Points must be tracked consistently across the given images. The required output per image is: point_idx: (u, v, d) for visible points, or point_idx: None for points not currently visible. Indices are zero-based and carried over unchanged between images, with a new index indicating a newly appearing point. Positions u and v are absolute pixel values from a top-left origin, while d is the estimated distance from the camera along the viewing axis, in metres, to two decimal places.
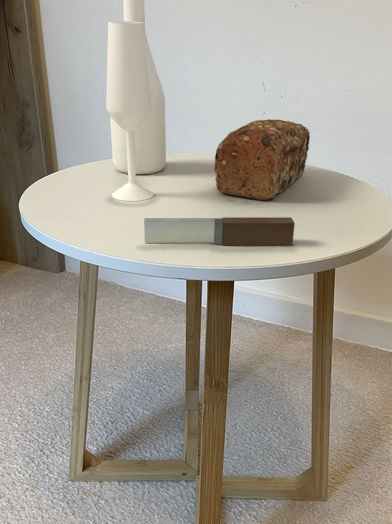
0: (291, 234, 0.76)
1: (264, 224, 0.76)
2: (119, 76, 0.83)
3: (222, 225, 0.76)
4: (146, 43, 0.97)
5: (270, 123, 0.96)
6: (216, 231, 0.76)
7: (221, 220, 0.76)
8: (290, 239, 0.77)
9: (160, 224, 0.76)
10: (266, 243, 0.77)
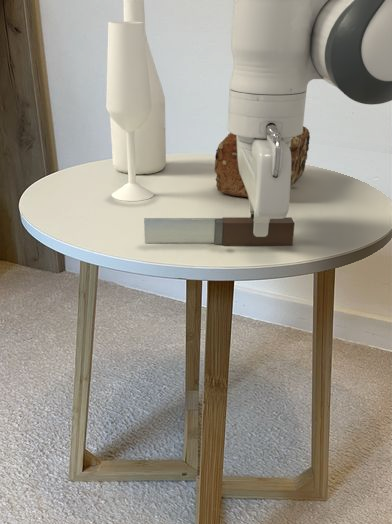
0: (291, 234, 0.76)
1: None
2: (119, 76, 0.83)
3: (222, 225, 0.76)
4: (146, 43, 0.97)
5: None
6: (216, 231, 0.76)
7: (221, 220, 0.76)
8: (290, 239, 0.77)
9: (160, 224, 0.76)
10: (266, 243, 0.77)
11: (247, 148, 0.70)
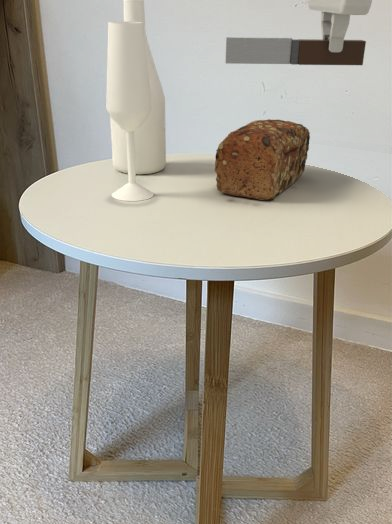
0: (362, 53, 0.82)
1: None
2: (119, 76, 0.83)
3: (299, 43, 0.82)
4: (146, 43, 0.97)
5: (270, 123, 0.96)
6: (293, 50, 0.82)
7: (297, 39, 0.82)
8: (361, 58, 0.83)
9: (241, 43, 0.82)
10: (338, 63, 0.83)
11: None
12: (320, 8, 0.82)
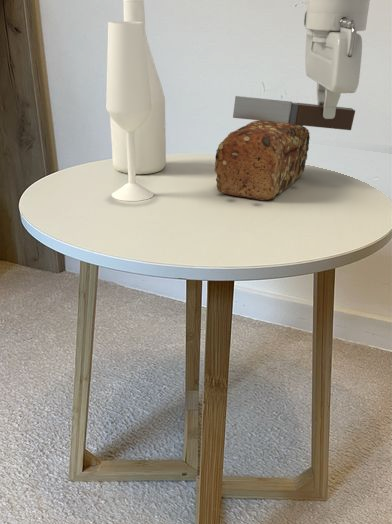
0: (351, 120, 0.95)
1: None
2: (119, 76, 0.83)
3: (297, 107, 0.94)
4: (146, 43, 0.97)
5: (270, 123, 0.96)
6: (292, 112, 0.94)
7: (297, 103, 0.94)
8: (350, 124, 0.95)
9: (248, 102, 0.94)
10: (330, 126, 0.95)
11: (322, 41, 0.88)
12: (316, 80, 0.94)
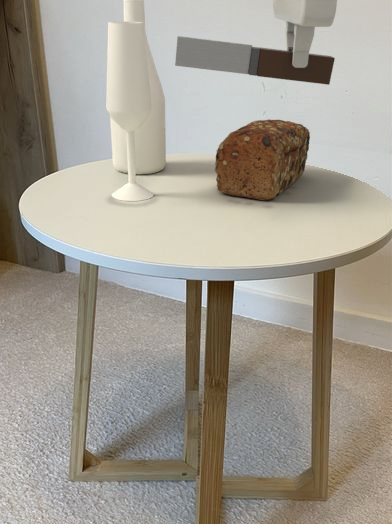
0: (329, 71, 0.73)
1: None
2: (119, 76, 0.83)
3: (259, 52, 0.72)
4: (146, 43, 0.97)
5: (270, 123, 0.96)
6: (252, 59, 0.72)
7: (258, 47, 0.72)
8: (328, 77, 0.73)
9: (194, 44, 0.71)
10: (302, 79, 0.73)
11: None
12: (283, 17, 0.72)
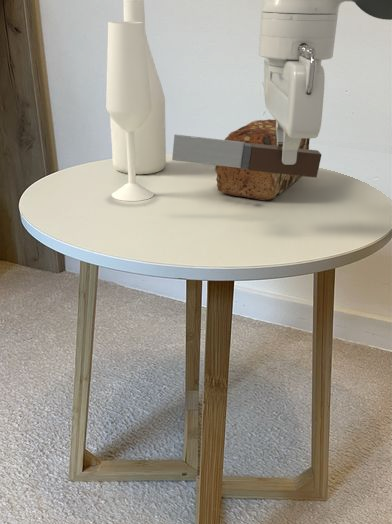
0: (317, 166, 0.78)
1: None
2: (119, 76, 0.83)
3: (251, 149, 0.76)
4: (146, 43, 0.97)
5: (271, 123, 0.96)
6: (244, 155, 0.77)
7: (250, 144, 0.77)
8: (315, 171, 0.78)
9: (189, 142, 0.76)
10: (291, 172, 0.78)
11: (278, 72, 0.71)
12: (273, 116, 0.77)
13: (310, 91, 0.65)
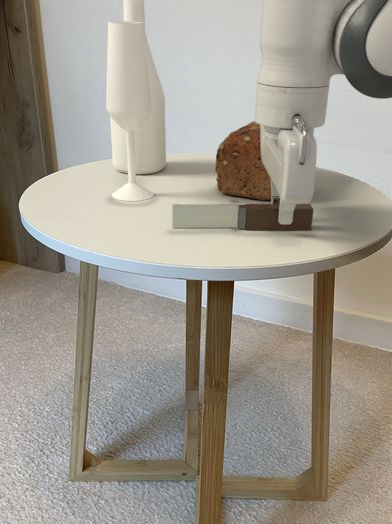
0: (310, 219, 0.81)
1: None
2: (119, 76, 0.83)
3: (245, 211, 0.81)
4: (146, 43, 0.97)
5: None
6: (240, 216, 0.81)
7: (244, 206, 0.81)
8: (309, 224, 0.82)
9: (187, 210, 0.81)
10: (286, 228, 0.82)
11: (273, 138, 0.74)
12: (269, 175, 0.81)
13: (303, 162, 0.69)
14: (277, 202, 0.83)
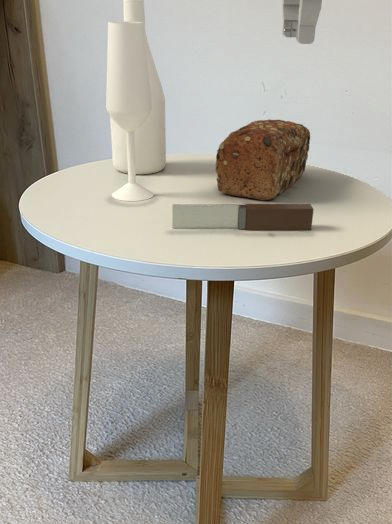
0: (310, 219, 0.81)
1: (285, 210, 0.81)
2: (119, 76, 0.83)
3: (245, 211, 0.81)
4: (146, 43, 0.97)
5: (271, 123, 0.96)
6: (240, 216, 0.81)
7: (244, 206, 0.81)
8: (309, 224, 0.82)
9: (187, 210, 0.81)
10: (286, 228, 0.82)
11: None
12: None
13: None
14: (289, 27, 0.74)
